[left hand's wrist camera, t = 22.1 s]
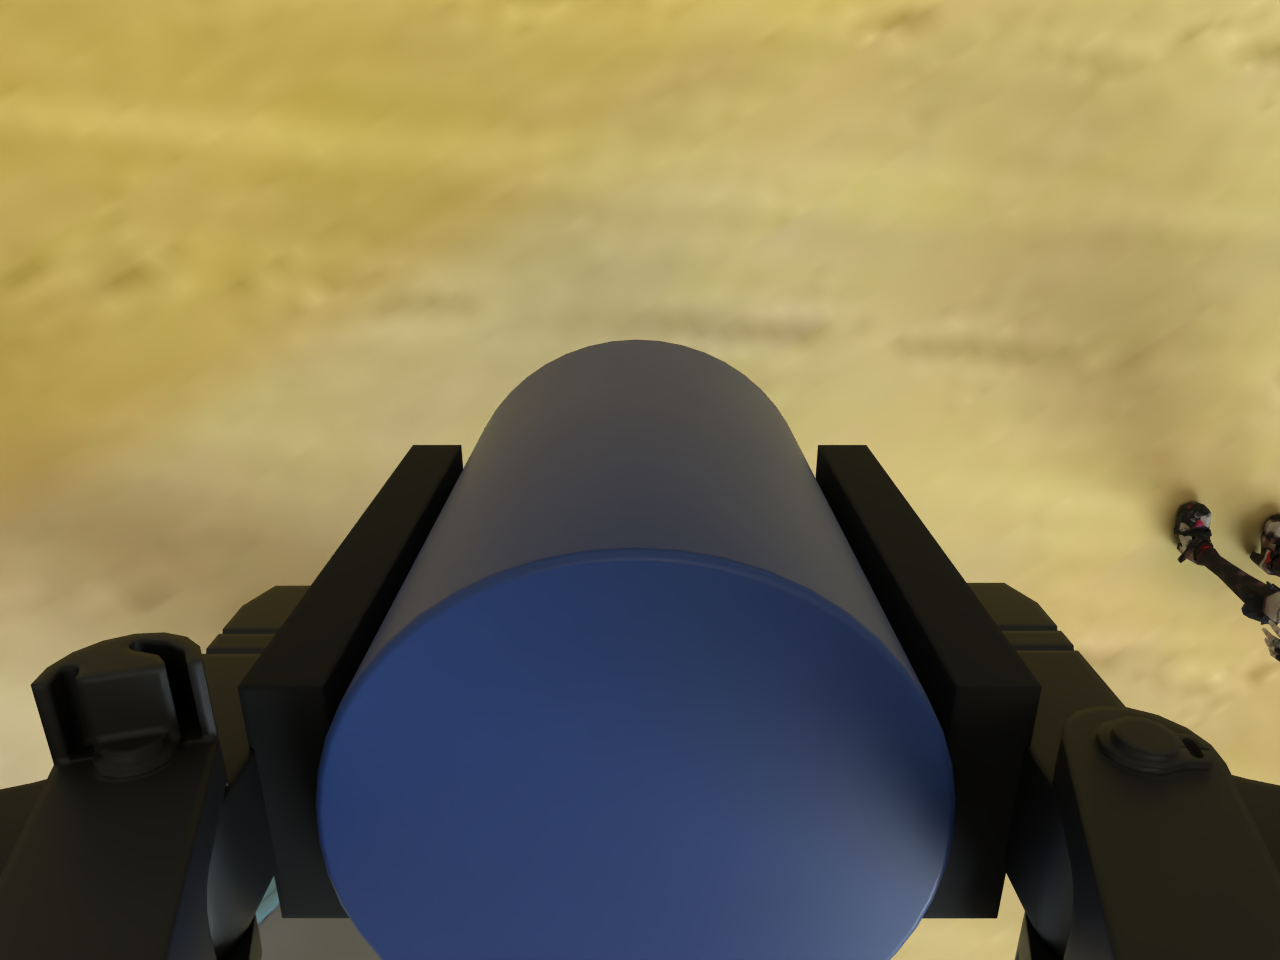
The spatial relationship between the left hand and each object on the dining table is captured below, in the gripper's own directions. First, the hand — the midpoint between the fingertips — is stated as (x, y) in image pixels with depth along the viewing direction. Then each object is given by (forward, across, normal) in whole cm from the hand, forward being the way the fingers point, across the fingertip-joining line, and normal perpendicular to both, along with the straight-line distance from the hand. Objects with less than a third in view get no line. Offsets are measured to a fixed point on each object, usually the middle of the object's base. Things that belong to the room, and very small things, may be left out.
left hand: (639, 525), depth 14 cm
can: (+1, 0, 0) cm, 1 cm away
